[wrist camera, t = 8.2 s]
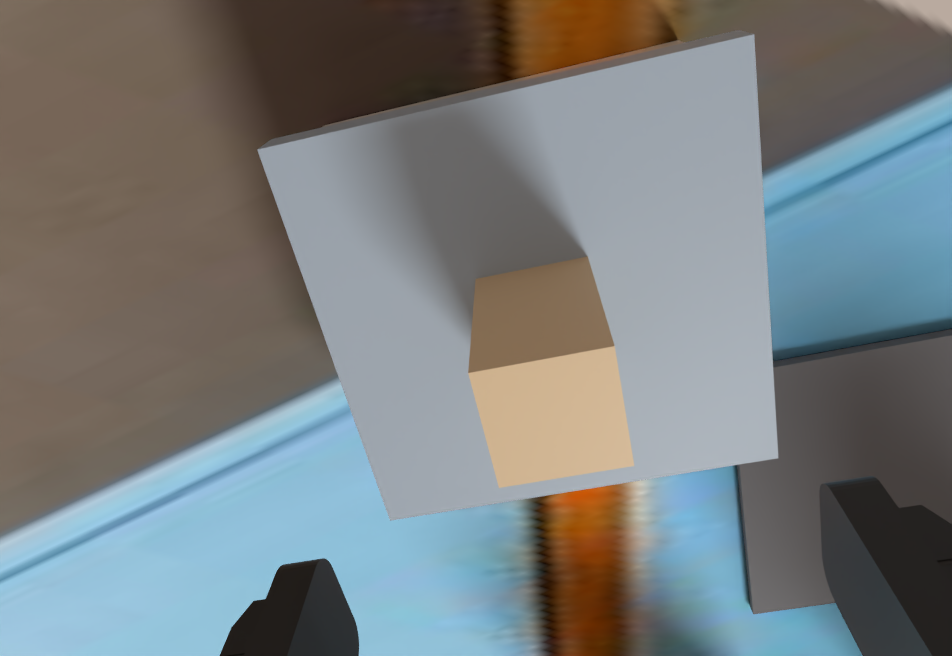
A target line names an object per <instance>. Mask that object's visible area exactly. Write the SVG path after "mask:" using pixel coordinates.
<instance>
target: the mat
mask: <svg viewBox="0 0 952 656" xmlns="http://www.w3.org/2000/svg"><path fill="white" fill-rule="evenodd" d="M773 374H774V391H775V409H776V426H777V444H778V458H777V459H770V460H764V461H758V462H752V463H745V464H739V465H737V472H738V482H739V493H740V503H741V514H742V524H743V534H744V545H745V555H746V566H747V576H748V586H749V597H750V607H751V609H752V612H753V614H758V613H765V612H773V611H780V610H787V609H794V608H801V607H808V606H816V605H823V604H830V603H836V602H835V600H834V598H833V596H832V594H831V591H830V588H829V586H828V582H827V579H826V576H825V572H824V567H823V561H822V546H821V522H820V498H819V491H820V486H821V484H823V483H829V482H836V481H842V480H849V479H855V478H862V477H868V476H874V477H876V478H877V479H878V480H879V481H880V483H881V484H882V485H883V487H884V488H885V489H886V491H887V492H888V494H889V495H890V496H891V498H892V499H893V501H894V502H895V503H896V505H897V506H898V507H899V508H902V507H909V506H916V505H923V506H924V507H926V508H927V509H929V510H931V511H932V512H934V513H935V514H937V515H938V516H940V517H941V518H943V519H945V520H946V521H948V522H949V523H951V524H952V329H949V330H944V331H938V332H933V333H927V334H922V335H916V336H911V337H905V338H900V339H894V340H889V341H883V342H878V343H872V344H867V345H861V346H856V347H850V348H845V349H839V350H834V351H828V352H823V353H817V354H812V355H806V356H801V357H795V358H790V359H784V360H779V361H773Z"/></svg>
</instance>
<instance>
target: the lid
mask: <svg viewBox="0 0 952 656" xmlns="http://www.w3.org/2000/svg"><path fill="white" fill-rule="evenodd" d="M258 153H259V156H260V159H261V161H262V164H263V167H264V170H265V173H266V175H267V178H268V181H269V184H270V187H271V189H272V192H273V195H274V198H275V201H276V203H277V206H278V209H279V212H280V214H281V217H282V220H283V223H284V226H285V228H286V231H287V234H288V237H289V240H290V242H291V245H292V248H293V251H294V254H295V256H296V259H297V262H298V265H299V267H300V270H301V273H302V276H303V279H304V281H305V284H306V287H307V290H308V293H309V295H310V298H311V301H312V304H313V307H314V309H315V312H316V315H317V318H318V320H319V323H320V326H321V329H322V332H323V334H324V337H325V340H326V343H327V346H328V348H329V351H330V354H331V357H332V360H333V362H334V365H335V368H336V371H337V373H338V376H339V379H340V382H341V385H342V387H343V390H344V393H345V396H346V399H347V401H348V404H349V407H350V410H351V413H352V415H353V418H354V421H355V424H356V426H357V429H358V432H359V435H360V438H361V440H362V443H363V446H364V449H365V452H366V454H367V457H368V460H369V463H370V466H371V468H372V471H373V474H374V477H375V479H376V482H377V485H378V488H379V491H380V493H381V496H382V499H383V502H384V505H385V507H386V510H387V513H388V516H389V519H390V520H396V519H403V518H409V517H415V516H421V515H428V514H434V513H440V512H446V511H452V510H459V509H465V508H471V507H477V506H484V505H490V504H496V503H502V502H509V501H515V500H521V499H527V498H533V497H540V496H546V495H552V494H558V493H565V492H571V491H577V490H583V489H590V488H596V487H602V486H608V485H614V484H621V483H627V482H633V481H639V480H646V479H652V478H658V477H664V476H671V475H677V474H683V473H689V472H695V471H702V470H708V469H714V468H720V467H727V466H733V465H739V464H745V463H752V462H758V461H764V460H770V459H777V458H778V444H777V426H776V409H775V391H774V374H773V356H772V339H771V321H770V304H769V286H768V269H767V252H766V234H765V217H764V199H763V182H762V164H761V147H760V129H759V112H758V95H757V77H756V60H755V42H754V34H751V33H748V32H744V31H740V30H737V31H732V32H728V33H724V34H720V35H715V36H711V37H707V38H702V39H698V40H694V41H690V42H685V43H681V44H677V45H672V46H668V47H664V48H660V49H655V50H651V51H647V52H642V53H638V54H634V55H630V56H625V57H621V58H617V59H613V60H608V61H604V62H600V63H595V64H591V65H587V66H583V67H578V68H574V69H570V70H565V71H561V72H557V73H553V74H548V75H544V76H540V77H535V78H531V79H527V80H523V81H518V82H514V83H510V84H506V85H501V86H497V87H493V88H488V89H484V90H480V91H476V92H471V93H467V94H463V95H458V96H454V97H450V98H446V99H441V100H437V101H433V102H429V103H424V104H420V105H416V106H411V107H407V108H403V109H399V110H394V111H390V112H386V113H381V114H377V115H373V116H369V117H364V118H360V119H356V120H351V121H347V122H343V123H339V124H334V125H330V126H326V127H322V128H317V129H313V130H309V131H304V132H300V133H296V134H292V135H287V136H283V137H279V138H274V139H271V140H269V141H268V142H267V143H265V144H264V145H263V146H261V147H260V148H259V149H258Z"/></svg>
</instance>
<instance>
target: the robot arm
mask: <svg viewBox="0 0 952 656" xmlns="http://www.w3.org/2000/svg"><path fill="white" fill-rule="evenodd" d="M819 498H820V522H821V546H822V561H823V567H824V572H825V576H826V579H827V582H828V586H829V588H830V591H831V594H832V596H833V598H834V600H835V602H836V604H837V606H838V608H839V610H840V612H841V614H842V616H843V618H844V620H845V622H846V624H847V626H848V628H849V630H850V632H851V634H852V636H853V638H854V640H855V642H856V643H857V645H858V647H859V649H860V651H861V653H862V655H863V656H952V524H951V523H949V522H948V521H946V520H945V519H943V518H941V517H940V516H938V515H937V514H935V513H934V512H932V511H931V510H929V509H927V508H926V507H924V506H923V505H916V506H909V507H902V508H899V507H898V506H897V505H896V503H895V502H894V501H893V499H892V498H891V496H890V495H889V494H888V492H887V491H886V489H885V488H884V487H883V485H882V484H881V483H880V481H879V480H878V479H877V478H876V477H874V476H868V477H862V478H855V479H849V480H842V481H836V482H829V483H823V484H821V486H820V491H819ZM358 654H359V639H358V631H357V626H356V622H355V620H354V617H353V615H352V613H351V610H350V608H349V605H348V603H347V601H346V598H345V596H344V594H343V591H342V589H341V587H340V584H339V582H338V580H337V577H336V575H335V573H334V570H333V568H332V566H331V564H330V563H329V561H328V560H326V559H317V560H311V561H304V562H298V563H291V564H285V565H282V566H280V567H279V569H278V570H277V572H276V574H275V577H274V579H273V582H272V585H271V587H270V590H269V592H268V595H267V597H266V599H264V600H257V601H253V602H252V604H251V605H250V606H249V607H248V608H247V610H246V611H245V612H244V613H243V615H242V616H241V617H240V618H239V619H238V621H237V622H236V623H235V624H234V625H233V627H232V628H231V630H230V633H229V635H228V637H227V640H226V642H225V644H224V647H223V649H222V651H221V654H220V656H358Z"/></svg>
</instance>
